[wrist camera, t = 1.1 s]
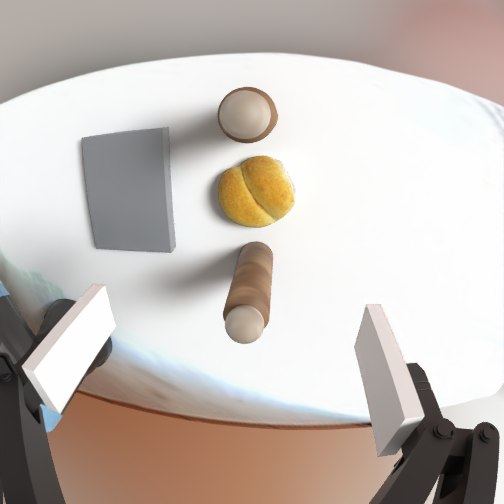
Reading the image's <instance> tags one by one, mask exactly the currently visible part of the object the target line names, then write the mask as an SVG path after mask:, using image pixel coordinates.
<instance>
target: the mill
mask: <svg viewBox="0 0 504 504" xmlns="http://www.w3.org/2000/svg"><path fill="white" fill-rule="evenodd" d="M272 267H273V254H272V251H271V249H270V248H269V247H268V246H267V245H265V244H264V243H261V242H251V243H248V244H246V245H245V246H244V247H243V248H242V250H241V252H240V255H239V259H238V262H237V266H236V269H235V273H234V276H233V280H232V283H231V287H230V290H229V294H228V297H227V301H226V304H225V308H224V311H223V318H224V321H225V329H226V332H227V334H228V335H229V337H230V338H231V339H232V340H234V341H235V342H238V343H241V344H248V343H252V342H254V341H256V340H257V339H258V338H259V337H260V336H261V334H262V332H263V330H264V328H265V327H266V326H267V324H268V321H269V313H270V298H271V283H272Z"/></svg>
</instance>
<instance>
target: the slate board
mask: <svg viewBox="0 0 504 504" xmlns="http://www.w3.org/2000/svg"><path fill="white" fill-rule="evenodd" d="M82 148H83V160H84V170H85V180H86V188H87V196H88V203H89V210H90V216H91V222H92V228H93V233H94V239H95V244H96V249H110V250H128V251H147V252H166V253H171V252H172V251H173V250H174V248H175V247H176V242H175V232H174V220H173V207H172V193H171V176H170V156H169V127H167V128H154V129H144V130H134V131H125V132H117V133H110V134H102V135H96V136H89V137H84V138H82Z"/></svg>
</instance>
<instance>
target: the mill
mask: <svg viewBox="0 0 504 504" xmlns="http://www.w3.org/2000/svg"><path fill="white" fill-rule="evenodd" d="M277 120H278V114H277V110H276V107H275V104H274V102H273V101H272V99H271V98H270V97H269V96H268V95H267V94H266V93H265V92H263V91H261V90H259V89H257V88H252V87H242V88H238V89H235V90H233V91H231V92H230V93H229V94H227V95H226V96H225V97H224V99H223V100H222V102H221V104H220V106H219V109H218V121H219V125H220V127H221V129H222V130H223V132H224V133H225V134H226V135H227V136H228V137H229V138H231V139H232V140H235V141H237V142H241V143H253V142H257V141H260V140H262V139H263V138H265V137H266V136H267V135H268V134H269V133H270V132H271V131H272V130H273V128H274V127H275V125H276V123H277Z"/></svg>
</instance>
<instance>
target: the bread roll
mask: <svg viewBox="0 0 504 504" xmlns="http://www.w3.org/2000/svg"><path fill="white" fill-rule="evenodd" d="M218 195H219V202H220V205H221V208H222V210H223V211H224V213H225V214H226V216H227V217H228V218H230V219H231V220H232V221H234V222H235V223H237V224H240V225H243V226H246V227H264V226H268V225H270V224H272V223H274V222H276V221H277V220H279V219H281V218H282V217H284V216H285V215H286V214H287V213H288V212H289V211H290V210H291V208H292V207H293V205H294V202H295V188H294V185H293V183H292V180H291V178H290V176H289V174H288V172H287V170H286V169H285V168H284V166H283V164H282V163H281V161H279V160H276V159H273V158H271V157H268V156H256V157H252V158H250V159H248V160H246V161H245V162H244V163H243V164H242V165H240V166H237V167H233V168H231V169H228V170H227V171H226V172H225V173H224V174H223V176H222V178H221V180H220V184H219V188H218Z"/></svg>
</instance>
